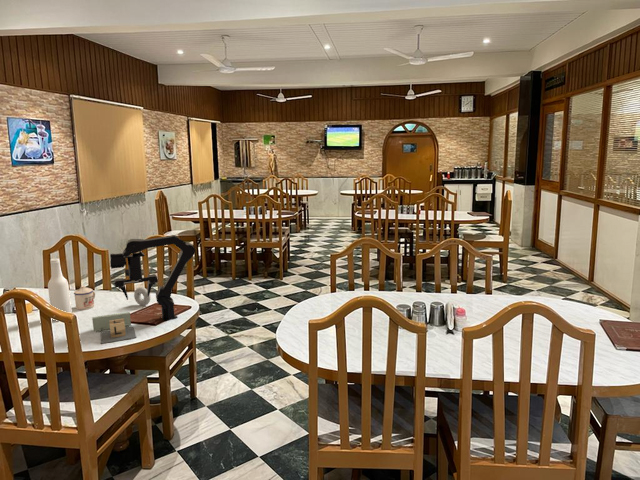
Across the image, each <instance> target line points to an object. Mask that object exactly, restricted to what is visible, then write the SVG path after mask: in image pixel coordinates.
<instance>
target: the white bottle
mask: <svg viewBox="0 0 640 480" xmlns="http://www.w3.org/2000/svg"><path fill="white" fill-rule="evenodd" d="M49 261H50V269H51V270H50V274H51V277H50V279H49V281H48V282H47V289H48V297H49V304H51V305H52V306H54V307H56V308H58V309H60V310H63V311H66V312H71V313H72V314H73V311H72V304H71V296H70V295H71V294H70V288H69V287H70V286H69V282H68V279H66V278H65V277H64V275H63V272H62V268H61V264H60V262H61V261H60V258H56V257H55V258H51V259H50V260H49Z"/></svg>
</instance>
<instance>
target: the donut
mask: <svg viewBox="0 0 640 480" xmlns="http://www.w3.org/2000/svg"><path fill="white" fill-rule="evenodd" d="M142 296H143V298H142ZM133 297H134V301H135V302H136V303H137V304H138V305H139V306H142V307H143V306H144V307H145V306H147V305H149V303H150V302H151V293H150V294H149V297H148V295H147V288H145V287H143V286H141V287H137V288H136V289H135V291H134V293H133Z"/></svg>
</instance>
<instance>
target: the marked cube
mask: <svg viewBox="0 0 640 480" xmlns="http://www.w3.org/2000/svg"><path fill="white" fill-rule="evenodd" d="M109 322H110V329H109V330H110V332H111V338H114V337H120V336H126V332H125V328H126V327H125V323H124V318H123V319H117V320H110V321H109Z"/></svg>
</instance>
